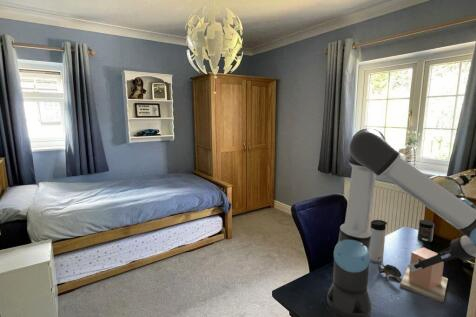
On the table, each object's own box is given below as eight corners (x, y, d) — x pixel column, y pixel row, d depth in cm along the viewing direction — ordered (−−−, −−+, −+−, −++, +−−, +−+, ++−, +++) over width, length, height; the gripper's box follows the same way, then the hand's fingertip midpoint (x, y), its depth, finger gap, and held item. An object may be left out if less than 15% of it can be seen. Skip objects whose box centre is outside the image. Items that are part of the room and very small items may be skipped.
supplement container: (430, 238, 145) (432, 221, 143) (433, 244, 139) (435, 225, 137) (416, 236, 148) (418, 219, 146) (418, 241, 142) (420, 223, 140)
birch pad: (443, 302, 98) (443, 299, 98) (400, 286, 107) (400, 283, 107) (447, 281, 109) (447, 278, 109) (408, 268, 119) (408, 265, 119)
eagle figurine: (377, 278, 111) (402, 281, 106) (376, 260, 114) (400, 263, 109) (379, 279, 116) (403, 282, 111) (378, 262, 119) (402, 264, 114)
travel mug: (382, 265, 122) (385, 225, 118) (366, 260, 126) (369, 221, 122) (384, 259, 127) (388, 220, 123) (369, 255, 130) (372, 217, 127)
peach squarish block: (441, 283, 106) (444, 256, 104) (429, 289, 103) (432, 261, 101) (420, 272, 113) (423, 247, 111) (408, 278, 110) (411, 252, 108)
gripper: (457, 267, 86) (407, 282, 102) (495, 248, 96) (444, 264, 112) (441, 245, 89) (395, 262, 106) (479, 229, 100) (431, 247, 116)
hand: (420, 263), depth 109 cm, fingers open, 13 cm apart
